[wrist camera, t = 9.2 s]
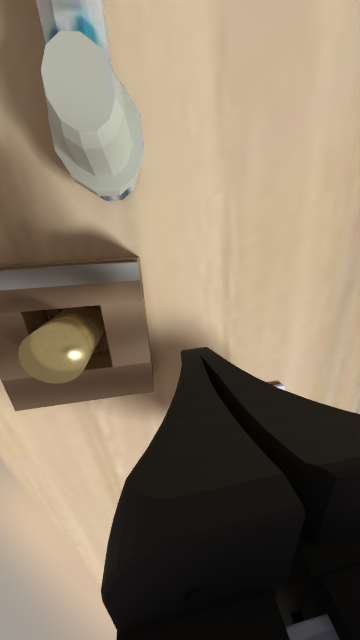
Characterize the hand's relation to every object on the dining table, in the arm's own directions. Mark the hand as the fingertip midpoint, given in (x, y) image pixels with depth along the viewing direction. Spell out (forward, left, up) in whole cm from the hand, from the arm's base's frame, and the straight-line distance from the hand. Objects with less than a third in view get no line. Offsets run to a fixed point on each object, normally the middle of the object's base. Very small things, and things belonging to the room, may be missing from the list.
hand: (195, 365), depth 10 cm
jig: (-1, +9, -10) cm, 13 cm away
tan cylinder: (-1, +9, -10) cm, 13 cm away
